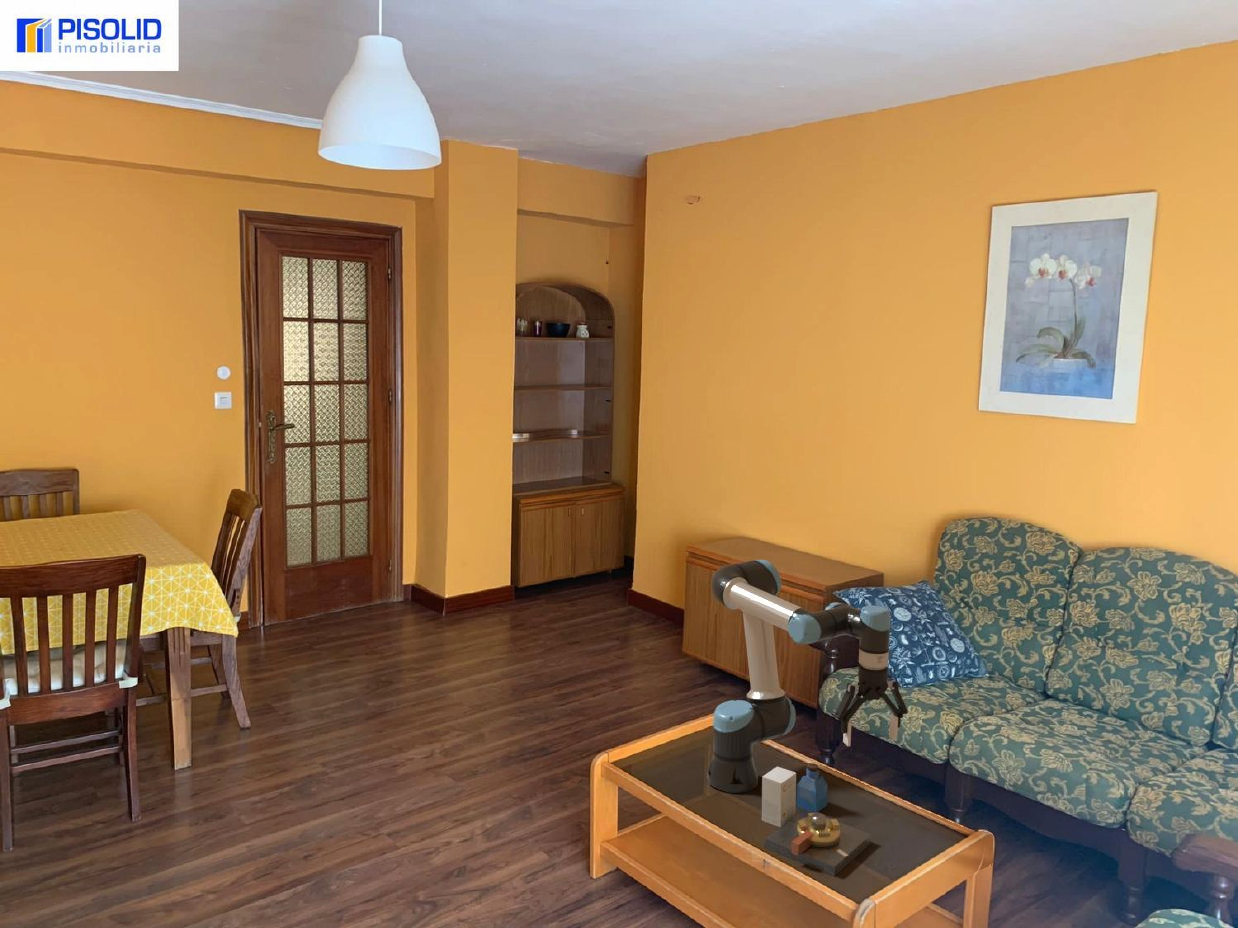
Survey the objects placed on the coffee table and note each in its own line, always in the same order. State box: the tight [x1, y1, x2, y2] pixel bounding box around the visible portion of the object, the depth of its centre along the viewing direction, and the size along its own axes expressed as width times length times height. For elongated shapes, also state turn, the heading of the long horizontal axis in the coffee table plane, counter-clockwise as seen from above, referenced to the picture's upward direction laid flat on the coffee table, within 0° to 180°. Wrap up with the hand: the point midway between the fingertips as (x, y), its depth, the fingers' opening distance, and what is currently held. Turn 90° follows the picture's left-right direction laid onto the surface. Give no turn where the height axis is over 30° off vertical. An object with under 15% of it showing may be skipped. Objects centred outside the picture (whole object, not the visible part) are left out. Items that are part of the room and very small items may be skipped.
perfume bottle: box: [796, 762, 829, 813], centre depth 263 cm, size 6×6×12 cm
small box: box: [761, 766, 797, 828], centre depth 256 cm, size 8×6×13 cm
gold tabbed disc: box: [791, 813, 840, 856], centre depth 240 cm, size 18×11×4 cm, turn 139°
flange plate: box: [764, 809, 872, 877], centre depth 243 cm, size 20×20×8 cm
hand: (870, 741), depth 248 cm, fingers open, 13 cm apart
